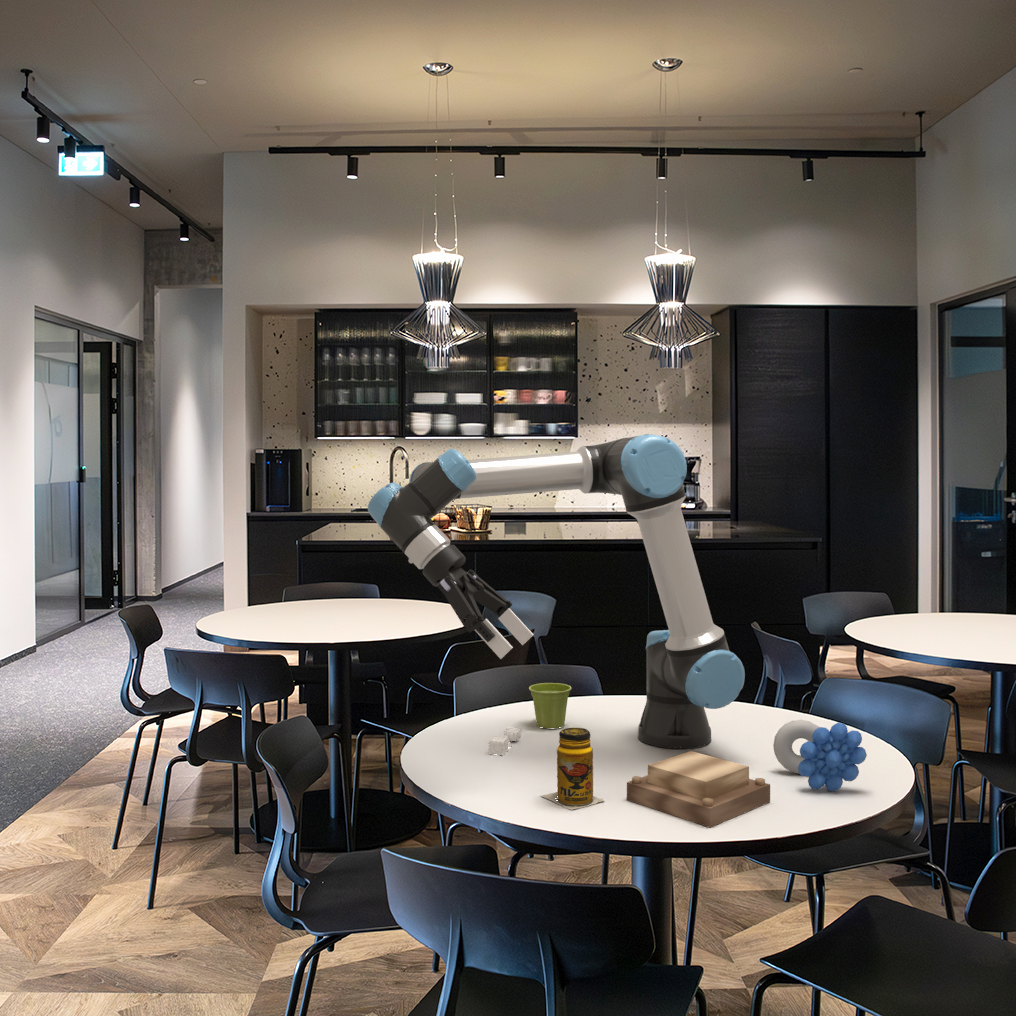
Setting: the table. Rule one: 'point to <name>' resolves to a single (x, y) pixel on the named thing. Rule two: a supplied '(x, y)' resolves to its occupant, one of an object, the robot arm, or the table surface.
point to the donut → (786, 739)
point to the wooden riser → (699, 788)
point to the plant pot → (550, 703)
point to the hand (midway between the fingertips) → (518, 646)
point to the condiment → (574, 770)
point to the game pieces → (504, 741)
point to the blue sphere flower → (831, 757)
